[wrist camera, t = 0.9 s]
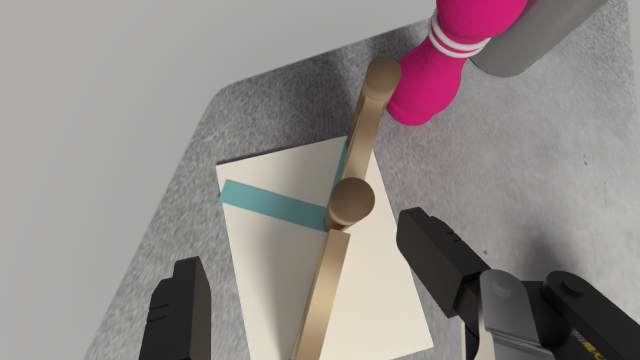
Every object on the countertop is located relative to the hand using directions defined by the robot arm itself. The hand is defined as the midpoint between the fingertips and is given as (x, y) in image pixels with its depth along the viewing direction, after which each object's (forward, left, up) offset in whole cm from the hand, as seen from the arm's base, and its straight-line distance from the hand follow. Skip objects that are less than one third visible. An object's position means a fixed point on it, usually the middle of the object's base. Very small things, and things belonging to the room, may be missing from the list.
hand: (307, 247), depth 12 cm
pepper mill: (-16, -14, -21) cm, 30 cm away
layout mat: (-1, 0, -21) cm, 21 cm away
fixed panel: (-6, -6, -20) cm, 22 cm away
